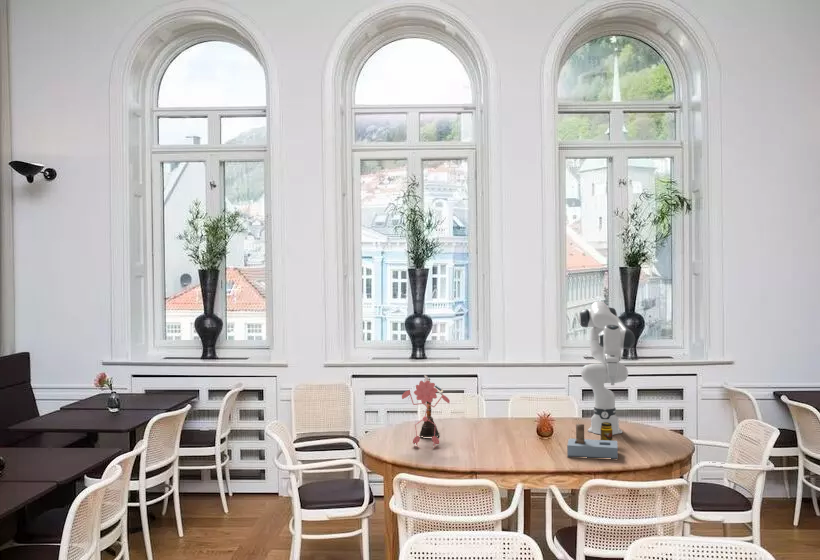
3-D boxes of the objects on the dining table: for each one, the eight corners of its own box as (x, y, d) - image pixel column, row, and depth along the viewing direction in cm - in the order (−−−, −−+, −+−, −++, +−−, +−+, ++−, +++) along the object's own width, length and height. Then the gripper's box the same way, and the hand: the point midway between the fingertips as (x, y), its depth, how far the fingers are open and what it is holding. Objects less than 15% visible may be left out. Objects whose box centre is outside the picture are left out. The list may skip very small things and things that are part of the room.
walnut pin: (576, 450, 361) (576, 423, 360) (584, 451, 360) (584, 423, 359) (576, 453, 357) (575, 425, 356) (584, 453, 356) (584, 425, 355)
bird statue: (448, 433, 406) (447, 372, 405) (448, 438, 393) (447, 375, 392) (419, 433, 407) (418, 372, 406) (418, 438, 394) (417, 376, 393)
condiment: (610, 448, 369) (610, 425, 368) (594, 446, 374) (594, 423, 373) (615, 445, 375) (615, 422, 375) (599, 442, 380) (599, 420, 379)
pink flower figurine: (449, 449, 371) (448, 382, 370) (401, 448, 374) (399, 382, 373) (451, 441, 386) (451, 377, 385) (404, 441, 390) (403, 377, 389)
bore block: (568, 449, 366) (568, 438, 366) (617, 452, 360) (617, 440, 360) (567, 457, 353) (567, 445, 353) (617, 460, 347) (617, 448, 346)
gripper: (605, 353, 376) (606, 379, 376) (606, 359, 356) (606, 386, 357) (618, 354, 374) (618, 380, 375) (619, 359, 354) (619, 387, 355)
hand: (612, 383), depth 365 cm, fingers open, 8 cm apart
